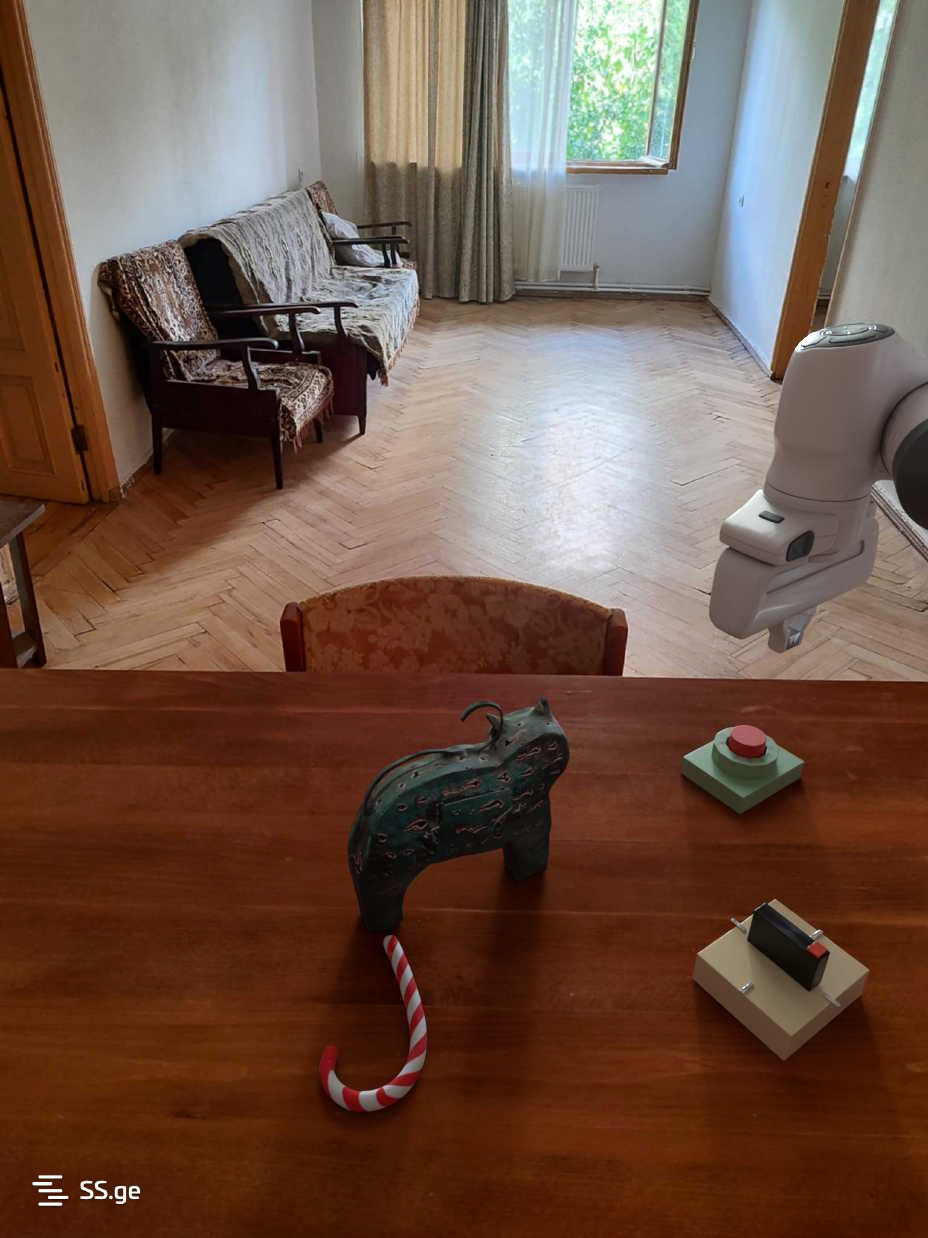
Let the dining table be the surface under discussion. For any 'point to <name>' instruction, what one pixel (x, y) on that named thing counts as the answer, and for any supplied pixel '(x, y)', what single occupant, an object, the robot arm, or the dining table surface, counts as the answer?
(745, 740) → the red button
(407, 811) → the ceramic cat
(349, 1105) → the candy cane
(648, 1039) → the dining table surface
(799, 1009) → the battery holder base
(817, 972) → the black battery pack
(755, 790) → the button box
